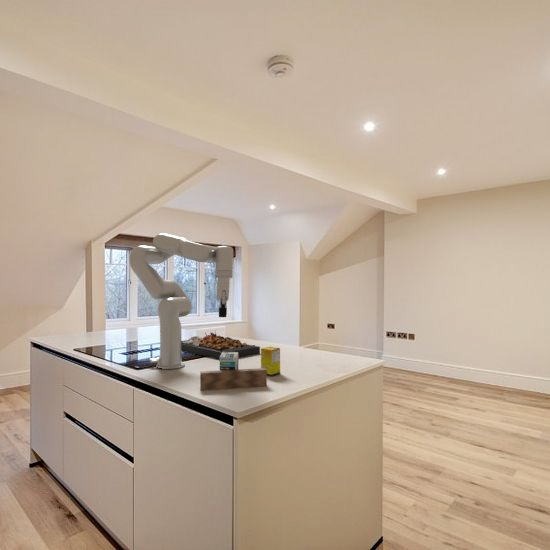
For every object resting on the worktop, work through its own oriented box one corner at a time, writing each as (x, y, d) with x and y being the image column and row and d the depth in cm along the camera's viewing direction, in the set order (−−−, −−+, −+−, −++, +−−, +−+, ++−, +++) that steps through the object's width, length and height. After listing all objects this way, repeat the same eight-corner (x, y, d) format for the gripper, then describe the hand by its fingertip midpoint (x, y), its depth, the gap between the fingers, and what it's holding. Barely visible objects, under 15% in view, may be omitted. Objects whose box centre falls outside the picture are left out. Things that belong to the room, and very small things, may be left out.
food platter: (175, 350, 212) (175, 332, 213) (210, 345, 230) (210, 328, 230) (223, 361, 181) (224, 340, 181) (259, 354, 199) (259, 335, 199)
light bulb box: (237, 386, 136) (237, 356, 136) (219, 386, 136) (219, 357, 136) (238, 378, 147) (238, 351, 147) (221, 378, 147) (221, 351, 147)
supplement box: (269, 371, 158) (269, 346, 158) (280, 373, 154) (280, 347, 154) (260, 374, 153) (260, 348, 154) (271, 376, 150) (271, 349, 150)
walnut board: (200, 390, 131) (200, 373, 131) (200, 388, 134) (200, 371, 134) (266, 386, 136) (266, 369, 136) (265, 384, 139) (265, 368, 139)
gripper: (214, 274, 166) (213, 315, 166) (215, 274, 151) (214, 318, 151) (231, 275, 167) (230, 315, 167) (233, 274, 153) (232, 319, 153)
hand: (222, 316), depth 159 cm, fingers closed
